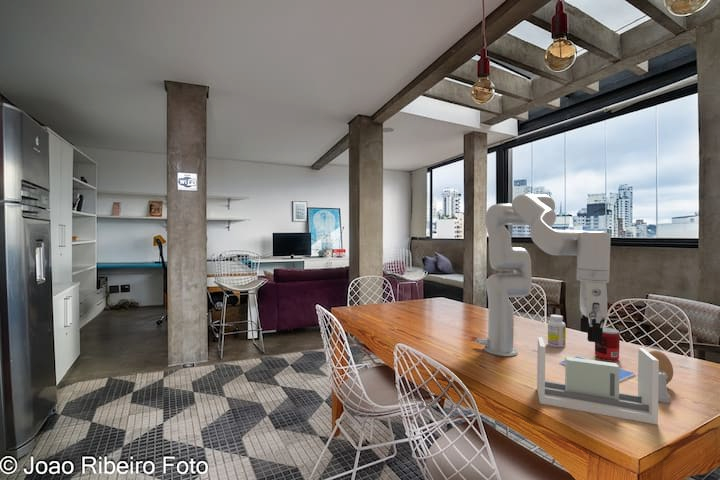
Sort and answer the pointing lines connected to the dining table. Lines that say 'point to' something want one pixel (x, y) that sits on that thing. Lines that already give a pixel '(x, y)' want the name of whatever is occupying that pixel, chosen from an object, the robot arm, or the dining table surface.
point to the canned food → (608, 345)
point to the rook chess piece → (663, 388)
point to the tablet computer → (622, 373)
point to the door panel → (592, 377)
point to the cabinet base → (625, 407)
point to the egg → (663, 364)
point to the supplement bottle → (556, 331)
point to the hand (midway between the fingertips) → (590, 336)
